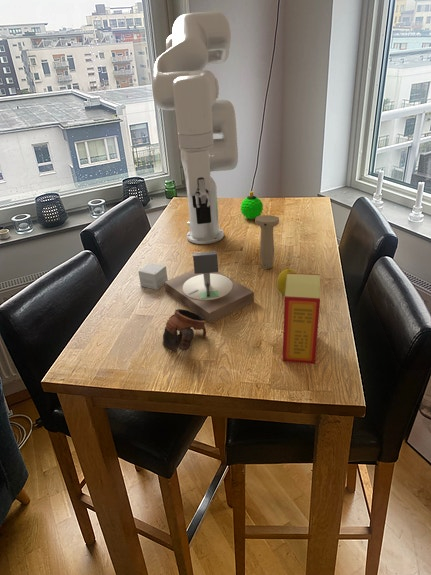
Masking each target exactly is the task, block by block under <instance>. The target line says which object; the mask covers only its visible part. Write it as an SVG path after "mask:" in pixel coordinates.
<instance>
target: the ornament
mask: <svg viewBox="0 0 431 575" xmlns="http://www.w3.org/2000/svg"><path fill="white" fill-rule="evenodd" d="M263 207H264V205H263V202H262V200H261V199H260V198H259V197H257V196H256V195H254V191H253V190H252V191H249V195H248V196H247V197H245V198H244V199H243V200H242V201H241V204H240V211H241V215H243V217H244V218H246V219H250V220H255V218H256V217H257V216H261V214H262V213H263V210H264V208H263Z"/></svg>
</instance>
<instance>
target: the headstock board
mask: <svg viewBox="0 0 431 575" xmlns="http://www.w3.org/2000/svg"><path fill="white" fill-rule="evenodd" d="M201 274H203V273H199V274H195V272H194V269H192V270H189V271H186V272H185V273H182V274H179V275H177V276H175V277H172V278H170V279H168V281H165V282H164V288H165V290H164V291H165V293H167V294H168V295H170V296H171V297H173V298H174V299H176V300H177V301H178V302H180V303H181V304H182V305H183V306H185V307H186V308H188V309H189V310H190V311H191V312H193V313H196V314H198V315H200V316H202V317H203V318H204V319H205V322H207V323H209V324H212V323H214V322H217V321H219V320H220V319H222V318H224V317H227V316H229V315H230V314H232V313H235V312H237V311H238V310H240V309H242V308H244V307H246V306H248V305H250V304H252V303H254V302H255V291H254V290H252V289H250V288H248V287H247V286H244V284H241V283H240V282H238V281H236V280H234V279H232V278H231V277H229V276H227V275H226V274H224V273H222V272H221V271H218V272H212V273H210V274H219V275H223V276H226V277H227V278H229V279H230V280H231V281H232V283H233V288H232V290H231V291H230V292H229V293H228V294H227V295H225V296H223V297H221V298H218V299H213V300H197V299H193V298H190V297H188V296H187V295H185V294H184V292H183V285H184V283H185V282H186V281H187V280H188V279H190V278H192V277H194V276H197V275H201Z"/></svg>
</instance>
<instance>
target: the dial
mask: <svg viewBox="0 0 431 575" xmlns="http://www.w3.org/2000/svg"><path fill="white" fill-rule="evenodd" d="M226 276H227V275H226ZM226 276H223V275H219V274H210V283H211V285H210V286H209V293H210V297H207V291H206V286H205V285H204V274H201V275H197V276H194V277H192V278H190V279H188V280H187V281H186V282H185V283H184V285H183V292H184V294H185V295H187V296H188V297H190V298H193V299H197V300H213V299H218V298H221V297H223V296H225V295H227V294H228V293H229V292H230V291H231V290H232V288H233V283H232V281H231V280H230V279H229V278H230V277H229V278H227V277H228V276H227V277H226Z"/></svg>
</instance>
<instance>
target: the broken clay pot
mask: <svg viewBox="0 0 431 575" xmlns="http://www.w3.org/2000/svg"><path fill="white" fill-rule="evenodd" d="M206 322H207V321H206V320H205V319H204V318H203V317H202V316H200V315H198V314H196V313H195V312H193V311H192V310H186V309H182V308H178V309H175V311H174V314H172V315H171V316H170V317H169V318H168V319H167V321H166V323H165V327H164V331H163V334H162V345H163V346H164V348H166V349H167V350H168V351H170V352H172V353H177V352H178V349H179V350H181V351H188V350H190V348H191V346H192V341H193V340H194V337H195V334H194V333H195V331H200V330H202V337H203V338H204V339H205V338H206V336H207V328H206V325H205V324H206Z"/></svg>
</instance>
